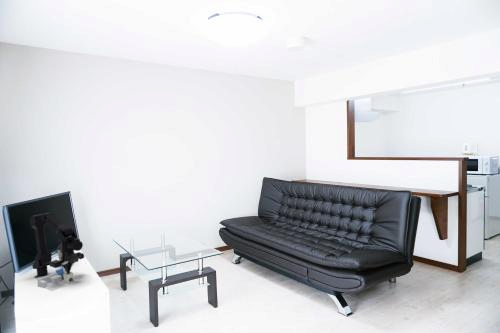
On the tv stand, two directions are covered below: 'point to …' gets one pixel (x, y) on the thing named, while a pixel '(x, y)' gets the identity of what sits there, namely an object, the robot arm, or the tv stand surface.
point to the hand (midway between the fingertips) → (68, 273)
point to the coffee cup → (59, 253)
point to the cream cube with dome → (68, 277)
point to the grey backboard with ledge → (54, 280)
